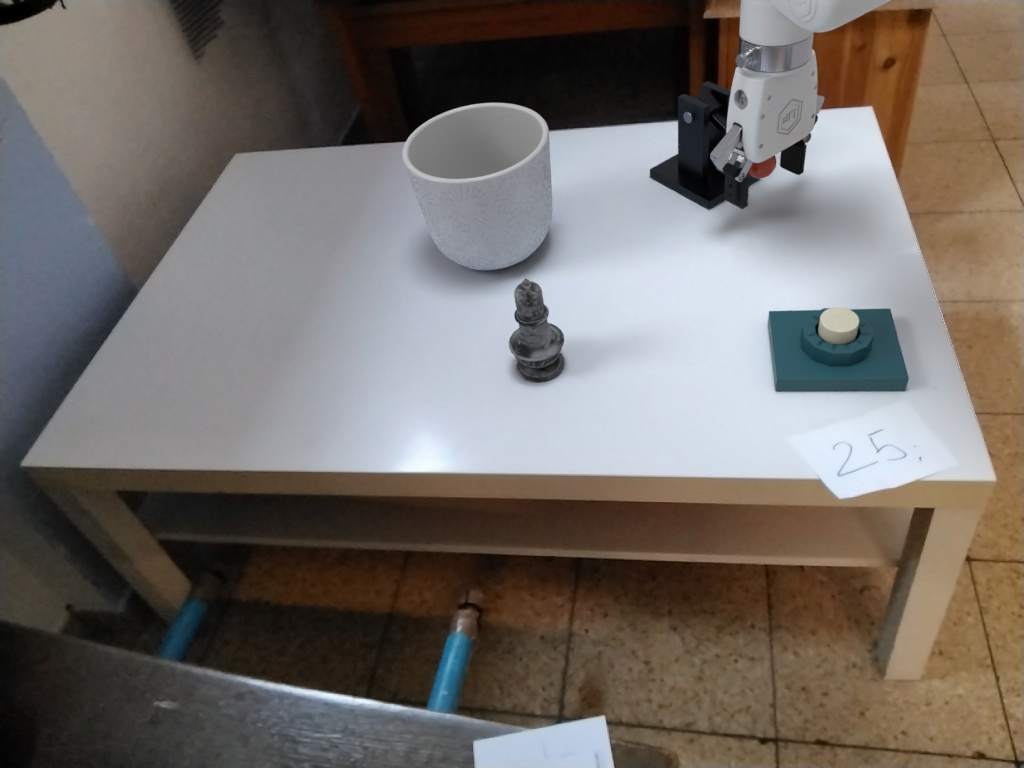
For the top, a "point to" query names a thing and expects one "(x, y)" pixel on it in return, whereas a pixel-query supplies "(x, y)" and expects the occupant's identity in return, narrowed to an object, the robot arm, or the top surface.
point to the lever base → (697, 151)
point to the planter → (483, 182)
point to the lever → (720, 123)
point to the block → (836, 354)
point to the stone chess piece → (535, 336)
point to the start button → (838, 326)
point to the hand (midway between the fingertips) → (763, 186)
